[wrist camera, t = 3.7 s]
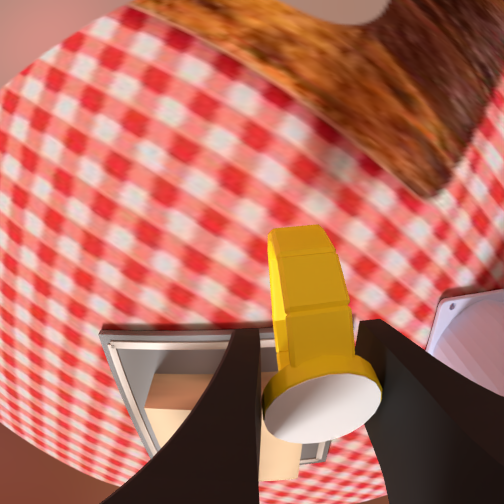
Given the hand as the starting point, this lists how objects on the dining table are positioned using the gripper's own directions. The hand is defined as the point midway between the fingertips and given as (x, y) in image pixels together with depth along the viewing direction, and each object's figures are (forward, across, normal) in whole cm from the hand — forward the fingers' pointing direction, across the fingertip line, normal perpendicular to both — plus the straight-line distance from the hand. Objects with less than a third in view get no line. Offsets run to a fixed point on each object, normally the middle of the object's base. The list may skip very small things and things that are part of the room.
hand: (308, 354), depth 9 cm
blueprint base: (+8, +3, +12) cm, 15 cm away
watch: (+4, 0, 0) cm, 4 cm away
